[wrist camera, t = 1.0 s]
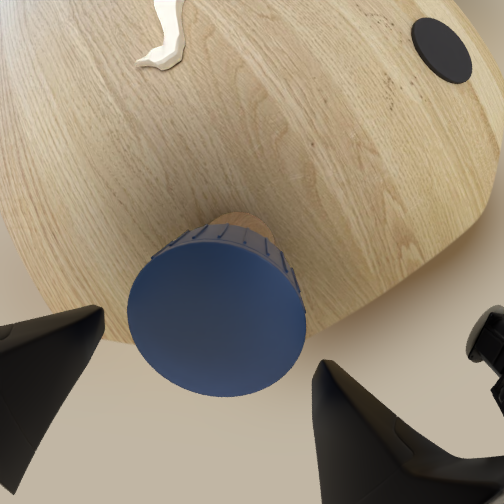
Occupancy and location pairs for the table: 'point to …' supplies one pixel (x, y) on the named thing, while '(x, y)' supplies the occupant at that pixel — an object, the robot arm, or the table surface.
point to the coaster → (442, 50)
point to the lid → (218, 312)
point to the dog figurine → (167, 36)
